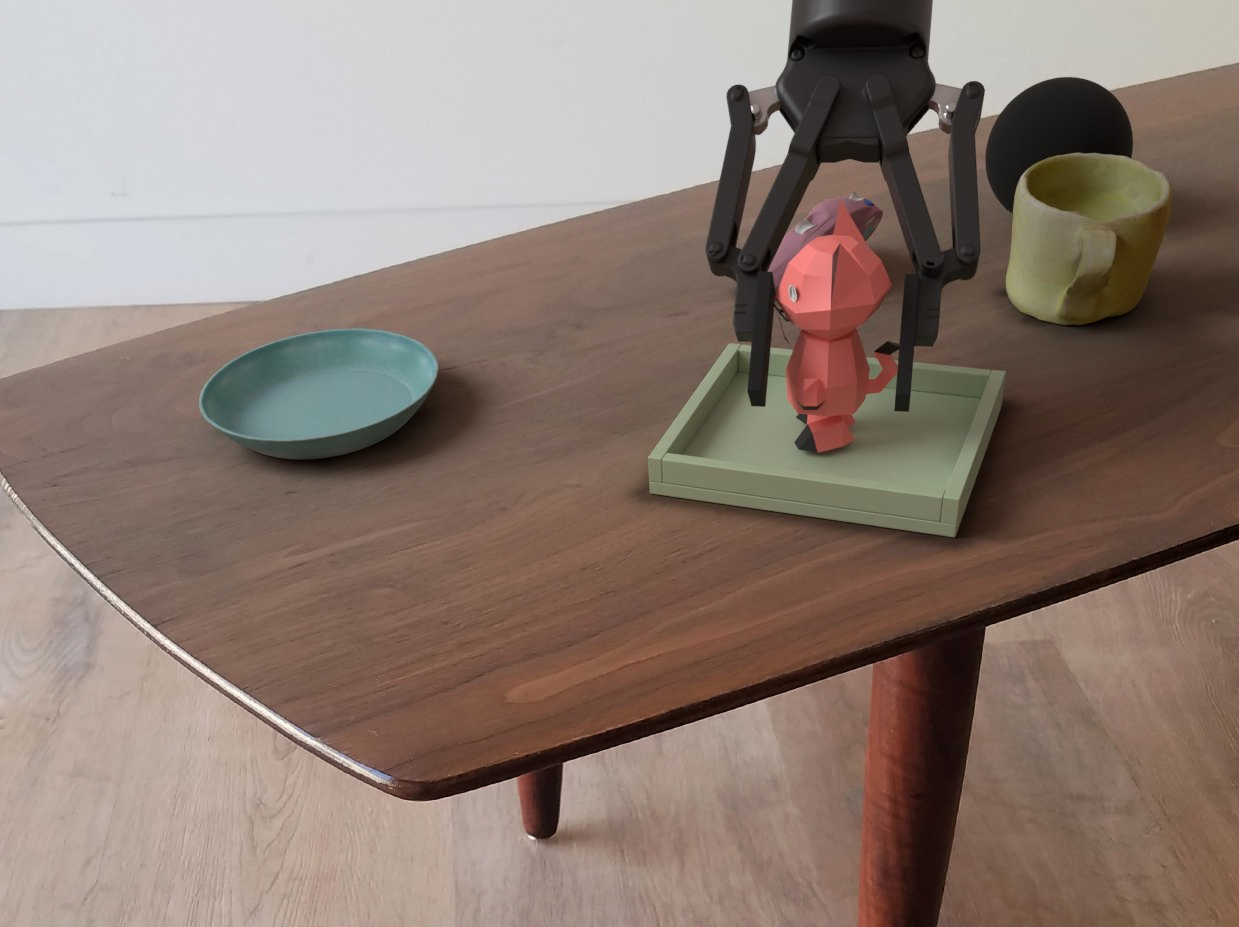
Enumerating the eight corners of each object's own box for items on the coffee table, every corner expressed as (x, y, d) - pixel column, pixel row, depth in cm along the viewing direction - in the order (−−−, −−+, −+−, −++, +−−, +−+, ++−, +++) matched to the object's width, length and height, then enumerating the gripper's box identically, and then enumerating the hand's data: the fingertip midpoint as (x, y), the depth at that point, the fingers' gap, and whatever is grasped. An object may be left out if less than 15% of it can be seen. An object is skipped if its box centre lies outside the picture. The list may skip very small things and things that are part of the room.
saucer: (192, 397, 90) (181, 360, 88) (408, 347, 93) (402, 310, 92) (230, 502, 79) (219, 461, 77) (474, 440, 82) (468, 400, 81)
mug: (992, 233, 96) (1052, 105, 88) (1133, 287, 94) (1207, 163, 86) (948, 337, 89) (1009, 209, 81) (1099, 397, 88) (1176, 273, 79)
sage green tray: (1001, 406, 80) (1006, 370, 79) (955, 538, 70) (959, 499, 69) (729, 376, 86) (729, 342, 85) (649, 493, 76) (647, 457, 74)
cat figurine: (772, 400, 81) (775, 197, 73) (891, 400, 80) (907, 194, 72) (766, 461, 75) (769, 248, 68) (894, 462, 74) (911, 246, 67)
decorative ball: (1116, 197, 104) (1139, 58, 98) (1124, 248, 97) (1149, 101, 91) (980, 196, 107) (994, 60, 101) (977, 245, 99) (992, 102, 93)
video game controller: (781, 327, 95) (823, 248, 89) (733, 286, 96) (771, 205, 90) (861, 278, 100) (905, 201, 94) (815, 240, 101) (856, 161, 95)
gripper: (1044, 26, 76) (1016, 428, 74) (690, 34, 81) (654, 415, 78) (1063, -60, 69) (1033, 384, 67) (673, -45, 73) (632, 372, 71)
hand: (828, 400), depth 72 cm, fingers closed on cat figurine, 7 cm apart
